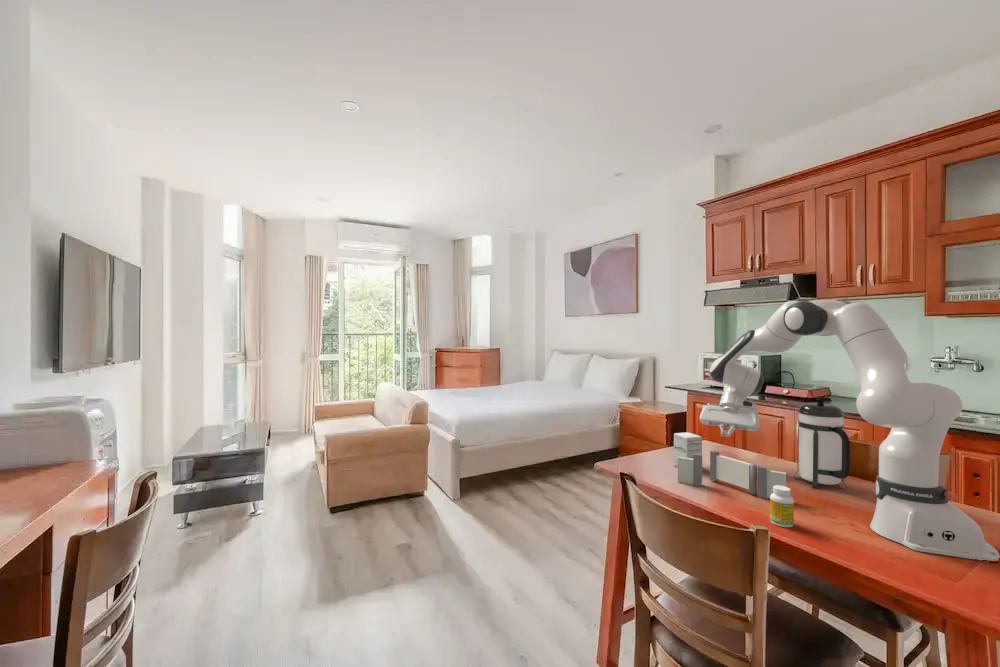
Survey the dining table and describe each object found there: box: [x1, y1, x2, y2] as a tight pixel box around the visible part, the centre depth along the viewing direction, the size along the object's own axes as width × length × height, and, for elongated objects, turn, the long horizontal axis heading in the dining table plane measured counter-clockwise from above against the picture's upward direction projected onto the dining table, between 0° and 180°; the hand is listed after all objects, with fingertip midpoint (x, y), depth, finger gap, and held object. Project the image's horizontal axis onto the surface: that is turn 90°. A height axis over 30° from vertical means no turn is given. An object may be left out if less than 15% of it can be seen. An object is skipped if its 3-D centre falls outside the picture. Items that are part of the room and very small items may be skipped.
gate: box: [709, 449, 758, 495], centre depth 141 cm, size 15×2×10 cm, turn 28°
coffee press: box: [793, 395, 851, 490], centre depth 144 cm, size 17×16×30 cm
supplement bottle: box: [769, 485, 795, 528], centre depth 115 cm, size 5×5×10 cm
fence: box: [677, 453, 787, 500], centre depth 139 cm, size 31×2×10 cm, turn 58°
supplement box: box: [673, 431, 703, 468], centre depth 162 cm, size 7×7×13 cm
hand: (725, 435), depth 159 cm, fingers closed
